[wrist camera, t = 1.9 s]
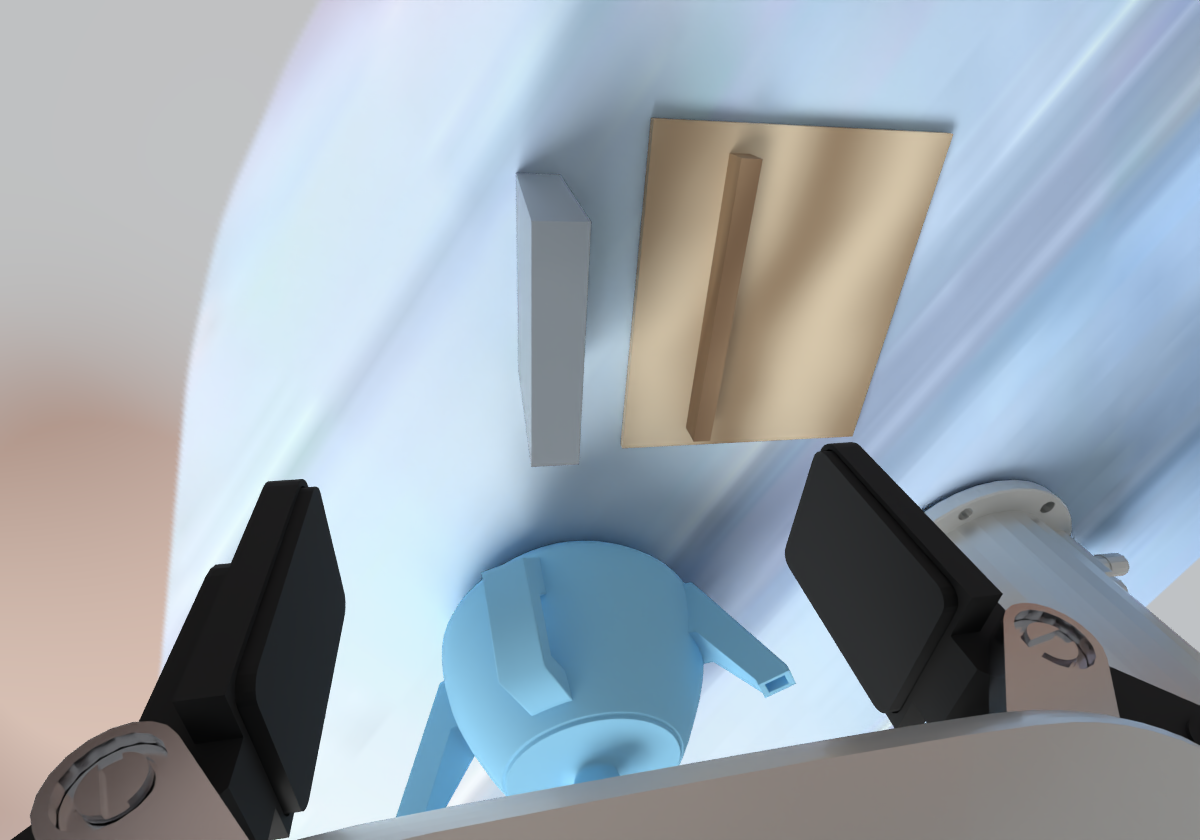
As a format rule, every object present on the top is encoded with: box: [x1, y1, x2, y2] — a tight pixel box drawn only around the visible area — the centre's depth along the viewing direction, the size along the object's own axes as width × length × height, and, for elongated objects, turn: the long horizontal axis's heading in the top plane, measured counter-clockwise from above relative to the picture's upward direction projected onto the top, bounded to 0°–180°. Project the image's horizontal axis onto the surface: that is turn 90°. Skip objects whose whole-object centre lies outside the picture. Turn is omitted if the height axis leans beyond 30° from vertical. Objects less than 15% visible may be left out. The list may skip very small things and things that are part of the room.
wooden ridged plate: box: [621, 118, 953, 448], centre depth 25 cm, size 12×14×2 cm
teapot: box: [396, 540, 796, 817], centre depth 30 cm, size 15×15×11 cm
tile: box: [516, 173, 591, 467], centre depth 21 cm, size 2×8×7 cm, turn 177°
